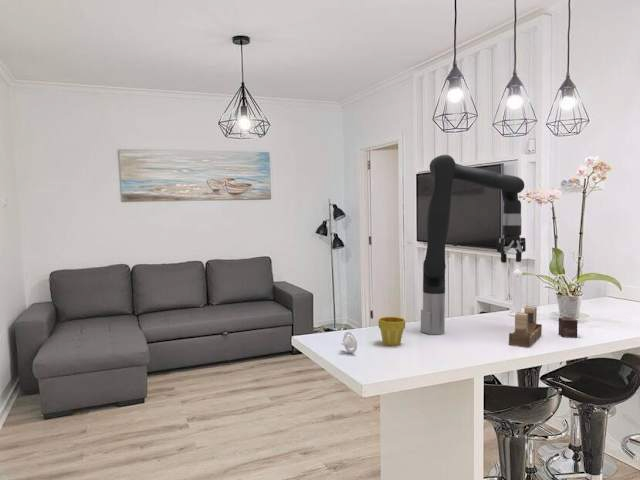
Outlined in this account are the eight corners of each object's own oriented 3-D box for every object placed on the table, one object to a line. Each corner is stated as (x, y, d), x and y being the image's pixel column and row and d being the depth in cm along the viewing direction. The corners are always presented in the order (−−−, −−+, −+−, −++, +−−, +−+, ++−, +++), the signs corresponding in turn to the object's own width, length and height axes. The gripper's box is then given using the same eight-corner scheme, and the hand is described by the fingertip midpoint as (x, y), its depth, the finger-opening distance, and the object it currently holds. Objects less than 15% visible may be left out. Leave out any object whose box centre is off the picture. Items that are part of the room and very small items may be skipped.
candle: (525, 314, 257) (526, 265, 255) (522, 317, 251) (523, 266, 249) (510, 313, 261) (511, 264, 259) (507, 315, 255) (508, 265, 253)
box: (577, 338, 210) (578, 320, 210) (561, 337, 211) (562, 319, 211) (573, 334, 216) (573, 317, 216) (558, 333, 217) (558, 316, 217)
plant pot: (402, 348, 194) (402, 322, 194) (375, 345, 198) (375, 320, 197) (407, 341, 204) (407, 317, 203) (381, 339, 208) (382, 315, 207)
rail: (529, 347, 195) (530, 316, 194) (508, 344, 199) (509, 314, 198) (541, 335, 215) (542, 306, 214) (522, 332, 219) (523, 304, 218)
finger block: (525, 343, 198) (525, 315, 197) (514, 341, 200) (515, 313, 199) (527, 340, 201) (528, 313, 201) (517, 339, 204) (517, 312, 203)
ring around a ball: (360, 354, 186) (360, 332, 185) (348, 357, 183) (348, 335, 182) (347, 349, 192) (347, 328, 192) (335, 352, 189) (335, 330, 189)
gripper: (506, 224, 212) (505, 263, 213) (531, 224, 218) (530, 262, 219) (492, 224, 219) (492, 262, 219) (517, 223, 225) (516, 260, 226)
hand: (511, 262), depth 219 cm, fingers open, 8 cm apart
